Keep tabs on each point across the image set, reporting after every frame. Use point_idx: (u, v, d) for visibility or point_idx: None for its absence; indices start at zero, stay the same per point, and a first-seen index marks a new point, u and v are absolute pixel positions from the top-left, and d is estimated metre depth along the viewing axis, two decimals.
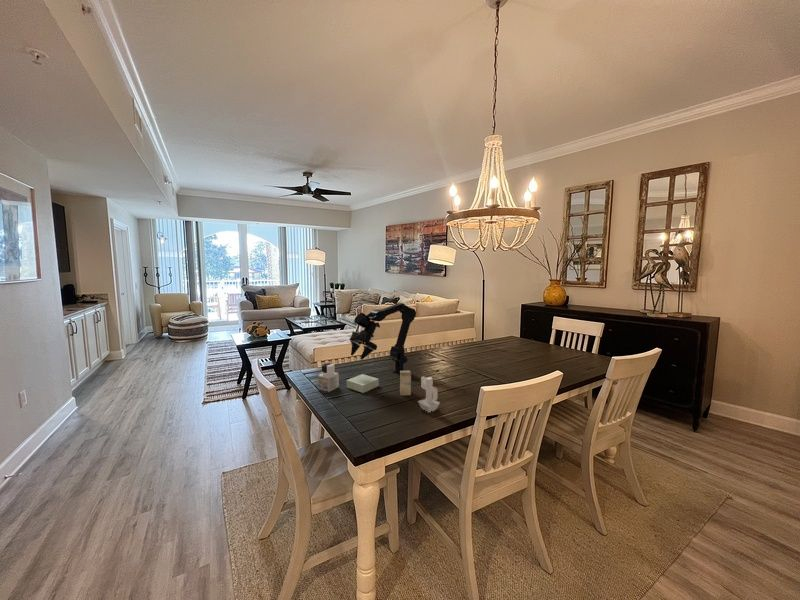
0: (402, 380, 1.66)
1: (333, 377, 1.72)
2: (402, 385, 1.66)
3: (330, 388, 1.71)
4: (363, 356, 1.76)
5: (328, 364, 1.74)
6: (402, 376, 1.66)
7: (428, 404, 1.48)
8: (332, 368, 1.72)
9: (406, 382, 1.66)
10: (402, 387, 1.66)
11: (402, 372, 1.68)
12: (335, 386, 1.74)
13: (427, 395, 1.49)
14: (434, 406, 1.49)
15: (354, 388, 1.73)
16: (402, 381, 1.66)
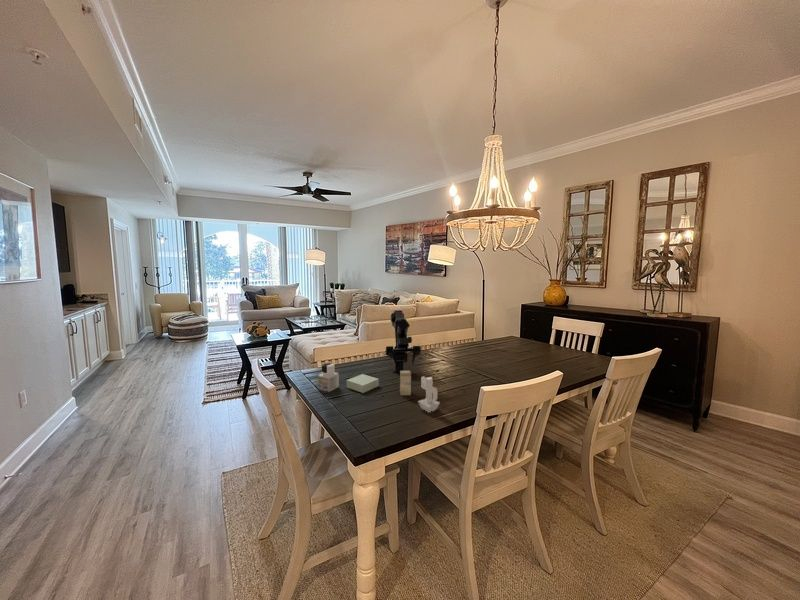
0: (402, 380, 1.66)
1: (333, 377, 1.72)
2: (402, 385, 1.66)
3: (330, 388, 1.71)
4: (413, 361, 1.76)
5: (328, 364, 1.74)
6: (402, 376, 1.66)
7: (428, 404, 1.48)
8: (332, 368, 1.72)
9: (406, 382, 1.66)
10: (402, 387, 1.66)
11: (402, 372, 1.68)
12: (335, 386, 1.74)
13: (427, 395, 1.49)
14: (434, 406, 1.49)
15: (354, 388, 1.73)
16: (402, 381, 1.66)
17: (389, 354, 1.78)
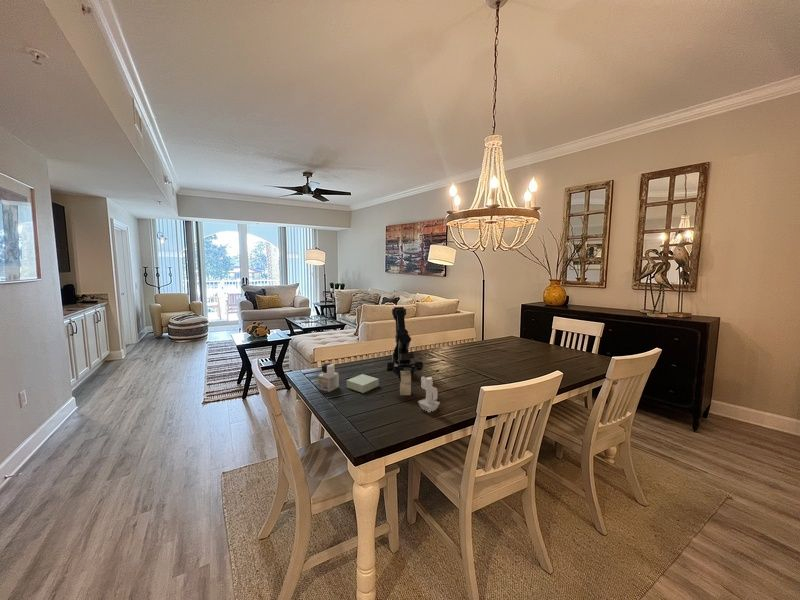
0: (402, 380, 1.66)
1: (333, 377, 1.72)
2: (402, 385, 1.66)
3: (330, 388, 1.71)
4: None
5: (328, 364, 1.74)
6: (402, 376, 1.66)
7: (428, 404, 1.48)
8: (332, 368, 1.72)
9: (406, 382, 1.66)
10: (402, 387, 1.66)
11: (402, 372, 1.68)
12: (335, 386, 1.74)
13: (427, 395, 1.49)
14: (434, 406, 1.49)
15: (354, 388, 1.73)
16: (402, 381, 1.66)
17: (394, 370, 1.71)
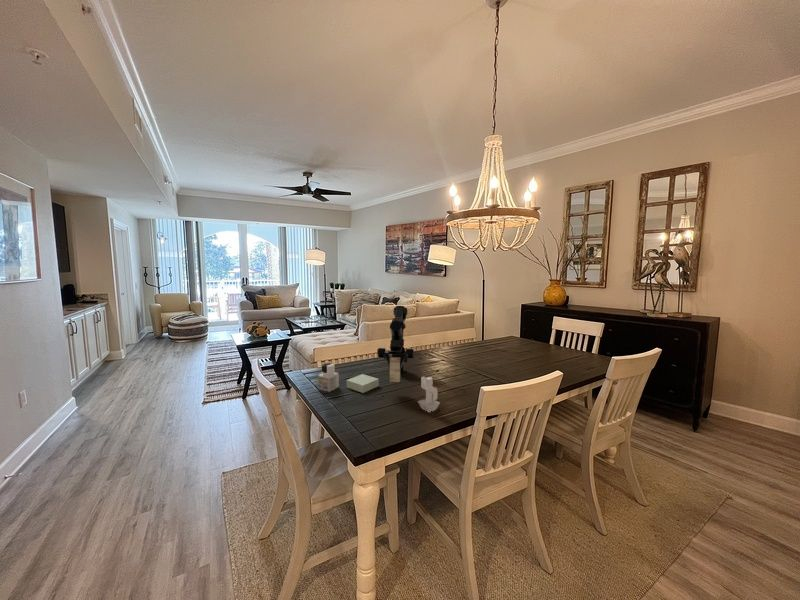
0: (391, 366, 1.66)
1: (333, 377, 1.72)
2: (391, 371, 1.66)
3: (330, 388, 1.71)
4: (401, 365, 1.68)
5: (328, 364, 1.74)
6: (391, 362, 1.65)
7: (428, 404, 1.48)
8: (332, 368, 1.72)
9: (395, 369, 1.66)
10: (391, 373, 1.66)
11: (392, 358, 1.68)
12: (335, 386, 1.74)
13: (427, 395, 1.49)
14: (434, 406, 1.49)
15: (354, 388, 1.73)
16: (391, 367, 1.66)
17: (385, 356, 1.71)
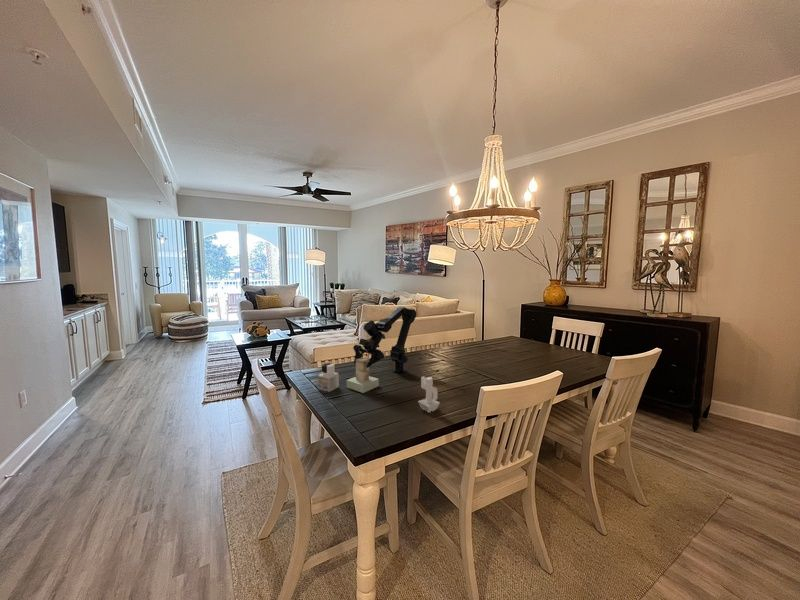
0: (356, 365, 1.75)
1: (333, 377, 1.72)
2: (356, 370, 1.75)
3: (330, 388, 1.71)
4: (369, 364, 1.73)
5: (328, 364, 1.74)
6: (356, 362, 1.75)
7: (428, 404, 1.48)
8: (332, 368, 1.72)
9: (359, 368, 1.74)
10: (356, 372, 1.76)
11: (360, 358, 1.76)
12: (335, 386, 1.74)
13: (427, 395, 1.49)
14: (434, 406, 1.49)
15: (354, 388, 1.73)
16: (356, 367, 1.75)
17: None
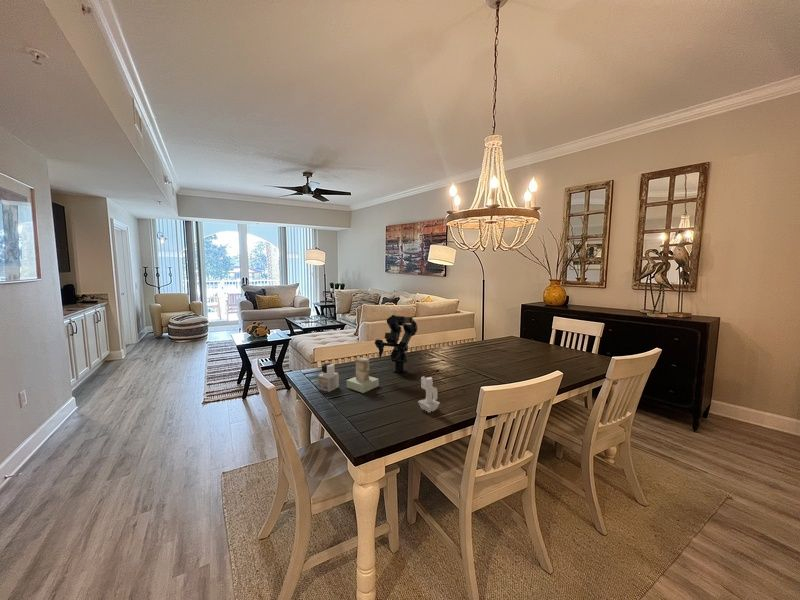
0: (356, 365, 1.75)
1: (333, 377, 1.72)
2: (356, 370, 1.75)
3: (330, 388, 1.71)
4: (397, 356, 1.82)
5: (328, 364, 1.74)
6: (356, 362, 1.75)
7: (428, 404, 1.48)
8: (332, 368, 1.72)
9: (359, 368, 1.74)
10: (356, 372, 1.76)
11: (360, 358, 1.76)
12: (335, 386, 1.74)
13: (427, 395, 1.49)
14: (434, 406, 1.49)
15: (354, 388, 1.73)
16: (356, 367, 1.75)
17: None
